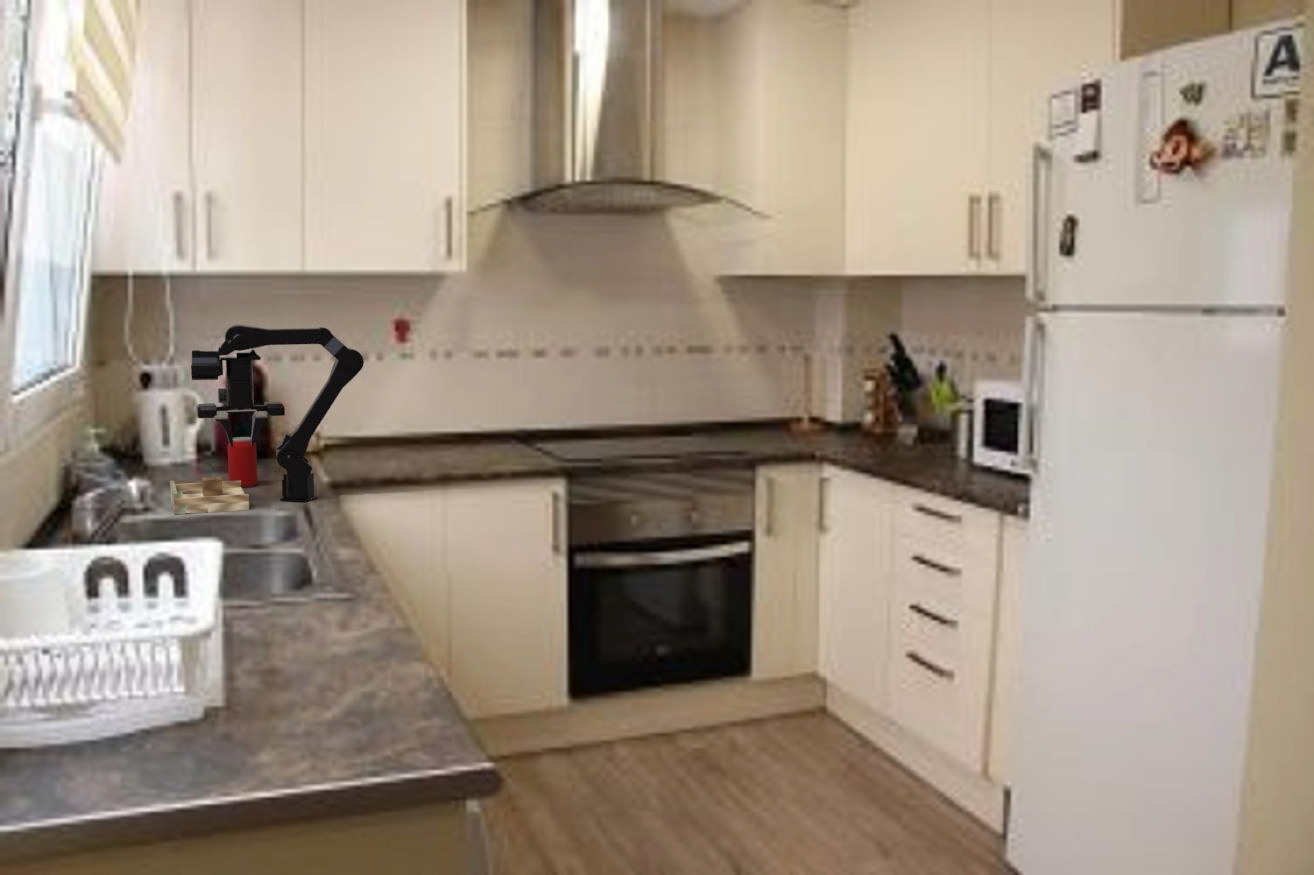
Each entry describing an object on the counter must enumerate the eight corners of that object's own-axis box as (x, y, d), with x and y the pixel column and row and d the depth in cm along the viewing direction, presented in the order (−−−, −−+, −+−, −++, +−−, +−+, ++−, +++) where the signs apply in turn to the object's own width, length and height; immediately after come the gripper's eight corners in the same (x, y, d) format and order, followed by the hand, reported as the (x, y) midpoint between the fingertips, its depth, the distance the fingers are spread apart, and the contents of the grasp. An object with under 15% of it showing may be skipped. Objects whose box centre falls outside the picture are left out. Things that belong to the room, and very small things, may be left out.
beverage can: (262, 483, 285) (260, 437, 283) (250, 488, 278) (248, 440, 276) (236, 482, 285) (235, 436, 284) (224, 487, 279) (222, 439, 277)
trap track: (241, 494, 270) (240, 476, 269) (249, 509, 253) (248, 490, 252) (170, 499, 263) (170, 480, 263) (174, 514, 246) (173, 494, 246)
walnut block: (221, 493, 261) (220, 476, 260) (222, 496, 257) (222, 479, 257) (202, 494, 259) (202, 477, 259) (203, 497, 256) (203, 480, 255)
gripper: (277, 376, 269) (279, 440, 271) (193, 377, 261) (196, 444, 263) (284, 380, 259) (286, 446, 261) (196, 381, 251) (199, 450, 253)
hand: (242, 446), depth 260 cm, fingers open, 4 cm apart
